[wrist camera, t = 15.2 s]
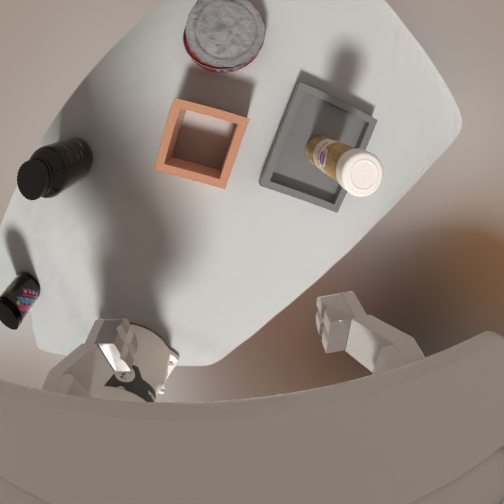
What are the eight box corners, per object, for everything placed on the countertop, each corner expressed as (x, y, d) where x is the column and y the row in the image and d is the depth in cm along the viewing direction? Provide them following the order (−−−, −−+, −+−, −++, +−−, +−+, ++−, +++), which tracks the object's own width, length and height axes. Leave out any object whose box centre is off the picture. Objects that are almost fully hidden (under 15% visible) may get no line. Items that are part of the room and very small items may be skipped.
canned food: (231, 18, 29) (266, -16, 21) (256, 71, 33) (299, 44, 24) (158, 32, 25) (178, -12, 17) (183, 90, 29) (211, 57, 21)
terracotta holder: (225, 179, 37) (225, 189, 33) (163, 162, 35) (154, 169, 31) (246, 117, 33) (249, 118, 29) (181, 99, 31) (174, 98, 27)
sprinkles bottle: (303, 136, 34) (341, 152, 23) (335, 134, 34) (384, 150, 23) (306, 168, 36) (343, 200, 25) (337, 165, 36) (383, 195, 25)
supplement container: (34, 301, 45) (13, 333, 36) (14, 279, 42) (-10, 309, 33) (45, 288, 44) (22, 322, 35) (24, 265, 41) (-2, 296, 32)
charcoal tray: (332, 207, 40) (337, 212, 39) (258, 181, 38) (260, 185, 36) (370, 119, 34) (377, 120, 32) (296, 83, 31) (300, 81, 29)
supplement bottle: (78, 189, 35) (35, 220, 25) (51, 162, 33) (4, 185, 22) (102, 155, 34) (59, 177, 23) (73, 127, 31) (24, 140, 20)
